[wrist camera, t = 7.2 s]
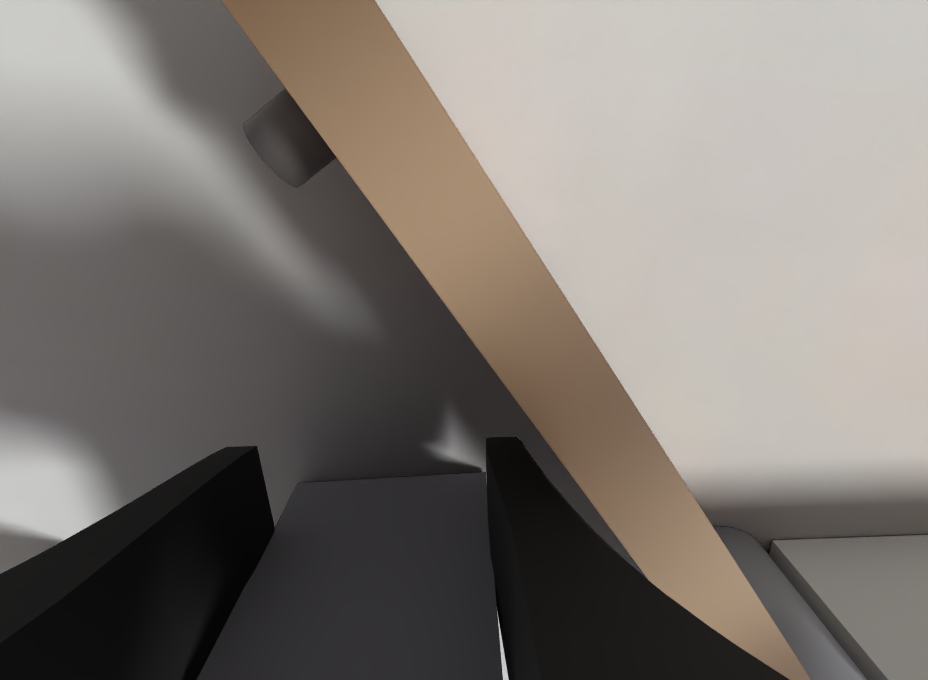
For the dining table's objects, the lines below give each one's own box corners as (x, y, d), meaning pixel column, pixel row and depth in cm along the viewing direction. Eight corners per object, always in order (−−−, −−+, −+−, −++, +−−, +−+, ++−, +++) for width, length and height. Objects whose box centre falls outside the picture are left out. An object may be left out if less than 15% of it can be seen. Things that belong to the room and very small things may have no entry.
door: (701, 519, 12) (817, 688, 8) (622, 559, 12) (695, 738, 8) (347, -27, 8) (242, -206, 4) (249, 62, 8) (69, -28, 4)
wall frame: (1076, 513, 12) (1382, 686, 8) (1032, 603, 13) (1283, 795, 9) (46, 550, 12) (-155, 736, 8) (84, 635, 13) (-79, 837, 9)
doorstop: (485, 472, 11) (503, 689, 7) (493, 612, 13) (513, 869, 8) (297, 483, 11) (182, 705, 7) (328, 621, 13) (252, 882, 8)
